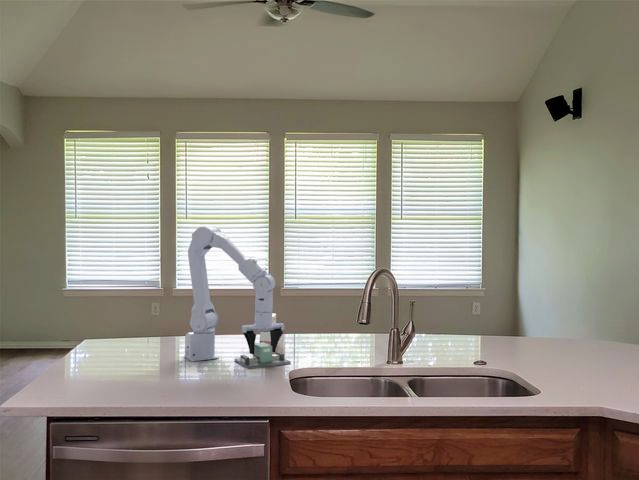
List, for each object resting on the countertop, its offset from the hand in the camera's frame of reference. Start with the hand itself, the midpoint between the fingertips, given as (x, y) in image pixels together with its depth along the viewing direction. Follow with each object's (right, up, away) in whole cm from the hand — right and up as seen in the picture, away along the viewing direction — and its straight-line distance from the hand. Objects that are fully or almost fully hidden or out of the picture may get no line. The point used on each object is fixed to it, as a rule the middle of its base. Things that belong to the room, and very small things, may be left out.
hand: (262, 352), depth 178 cm
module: (0, -2, 0) cm, 2 cm away
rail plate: (0, -3, 0) cm, 3 cm away
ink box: (-1, -3, +26) cm, 26 cm away
